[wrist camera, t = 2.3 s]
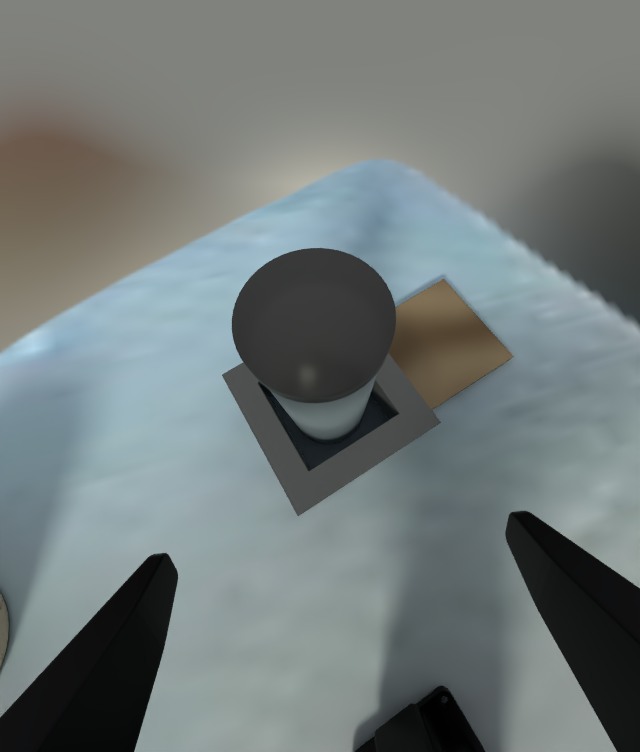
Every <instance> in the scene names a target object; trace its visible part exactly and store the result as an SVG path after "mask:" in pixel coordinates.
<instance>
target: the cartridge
mask: <svg viewBox="0 0 640 752" xmlns="http://www.w3.org/2000/svg"><path fill="white" fill-rule="evenodd" d="M395 327H396V310H395V305H394V301H393V298H392V295H391V292H390V290H389V289H388V287H387V285H386V283H385V282H384V280H383V279H382V278H381V276H380V275H379V274H378V273H377V272H376V271H375V270H374V269H373V268H372V267H370V266H369V265H368V264H367V263H365V262H364V261H362V260H360V259H359V258H357V257H355V256H352V255H350V254H347V253H344V252H341V251H337V250H333V249H324V248H310V249H301V250H297V251H293V252H289V253H287V254H284V255H281V256H279V257H277V258H275V259H273V260H271V261H270V262H268V263H266V264H265V265H264V266H262V267H261V268H260V269H259V270H257V271H256V272H255V273H254V274H253V275H252V276H251V277H250V279H249V280H248V281H247V282H246V284H245V285H244V287H243V288H242V290H241V292H240V293H239V296H238V298H237V300H236V303H235V307H234V310H233V316H232V333H233V339H234V343H235V346H236V349H237V351H238V353H239V355H240V357H241V359H242V360H243V362H244V363H245V365H246V366H247V367H248V369H249V370H250V371H251V372H252V373H253V375H254V376H255V377H256V378H257V379H258V380H259V381H260V383H261V384H263V385H264V386H265V387H266V388H268V389H269V390H270V391H271V393H272V394H273V395H274V397H275V398H276V399H277V400H278V402H279V403H280V404H281V405H282V407H283V408H284V409H285V411H286V412H287V413H288V414H289V416H290V417H291V418H292V419H293V421H294V422H295V423H296V425H297V426H298V427H299V428H300V430H301V431H302V432H303V433H304V434H305V435H306V436H307V437H308V438H310V439H311V440H313V441H316V442H319V443H323V444H334V443H339V442H341V441H344V440H345V439H347V438H349V437H350V436H351V435H352V434H353V433H354V432H355V431H356V430H357V428H358V426H359V424H360V422H361V419H362V416H363V413H364V411H365V408H366V405H367V402H368V399H369V396H370V393H371V391H372V388H373V385H374V382H375V379H376V376H377V374H378V371H379V370H380V368H381V366H382V365H383V363H384V361H385V359H386V356H387V354H388V352H389V349H390V346H391V344H392V341H393V337H394V333H395Z"/></svg>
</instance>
